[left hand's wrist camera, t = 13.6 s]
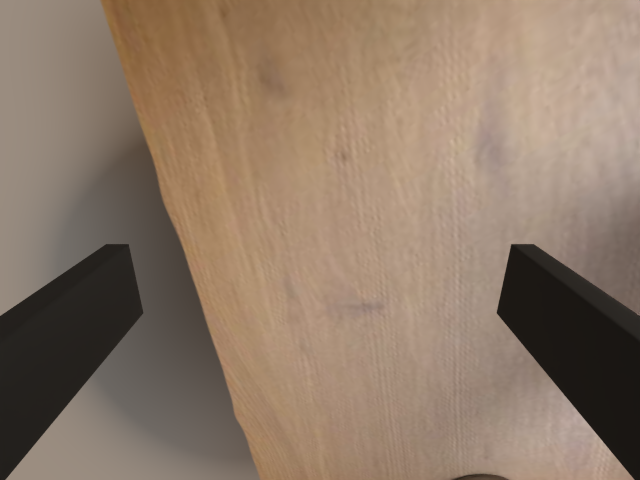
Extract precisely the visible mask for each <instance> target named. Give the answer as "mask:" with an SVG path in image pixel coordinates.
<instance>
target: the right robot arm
mask: <svg viewBox="0 0 640 480" xmlns="http://www.w3.org/2000/svg"><path fill="white" fill-rule="evenodd" d="M457 480H508V479H506V478H503V477H500V476H496V475H487V474H480V475H471V476H466V477H462V478H459V479H457Z"/></svg>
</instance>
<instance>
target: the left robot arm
mask: <svg viewBox="0 0 640 480" xmlns="http://www.w3.org/2000/svg"><path fill="white" fill-rule="evenodd" d="M142 314H143V309H142V305H141V300H140V295H139V291H138V286H137V282H136V277H135V272H134V267H133V263H132V258H131V253H130V249H129V245H128V244H106V245H104V246H103V247H102V248H100V249H99V250H97V251H96V252H94V253H93V254H91V255H90V256H88V257H87V258H85V259H84V260H82V261H81V262H79V263H78V264H76V265H75V266H73V267H72V268H71V269H69V270H68V271H66V272H65V273H63V274H62V275H60V276H59V277H57V278H56V279H54V280H53V281H51V282H50V283H48V284H47V285H45V286H44V287H42V288H41V289H40V290H38V291H37V292H35V293H34V294H32V295H31V296H29V297H28V298H26V299H25V300H23V301H22V302H20V303H19V304H17V305H16V306H14V307H13V308H11V309H10V310H8V311H7V312H6V313H4V314H3V315H1V316H0V480H5V479H6V478H7V477H8V476H9V475H10V473H11V472H12V471H13V470H14V469H15V467H16V466H17V465H18V464H19V463H20V461H21V460H22V459H23V458H24V457H25V455H26V454H27V453H28V452H29V450H30V449H31V448H32V447H33V446H34V444H35V443H36V442H37V441H38V440H39V438H40V437H41V436H42V435H43V434H44V432H45V431H46V430H47V429H48V428H49V426H50V425H51V424H52V423H53V421H54V420H55V419H56V418H57V417H58V415H59V414H60V413H61V412H62V411H63V409H64V408H65V407H66V406H67V405H68V403H69V402H70V401H71V400H72V398H73V397H74V396H75V395H76V394H77V392H78V391H79V390H80V389H81V388H82V386H83V385H84V384H85V383H86V382H87V380H88V379H89V378H90V377H91V376H92V374H93V373H94V372H95V371H96V369H97V368H98V367H99V366H100V365H101V363H102V362H103V361H104V360H105V359H106V357H107V356H108V355H109V354H110V353H111V351H112V350H113V349H114V348H115V347H116V345H117V344H118V343H119V342H120V340H121V339H122V338H123V337H124V336H125V335H126V333H127V332H128V331H129V330H130V328H131V327H132V326H133V325H134V324H135V322H136V321H137V320H138V319H139V318H140V316H141V315H142ZM497 314H498V315H499V316H500V318H501V319H502V320H503V321H504V322H505V324H506V325H507V326H508V327H509V328H510V330H511V331H512V332H513V333H514V335H515V336H516V337H517V338H518V339H519V341H520V342H521V343H522V344H523V345H524V347H525V348H526V349H527V350H528V351H529V353H530V354H531V355H532V356H533V357H534V359H535V360H536V361H537V362H538V364H539V365H540V366H541V367H542V368H543V370H544V371H545V372H546V373H547V374H548V376H549V377H550V378H551V379H552V380H553V382H554V383H555V384H556V385H557V386H558V388H559V389H560V390H561V391H562V392H563V394H564V395H565V396H566V397H567V399H568V400H569V401H570V402H571V403H572V405H573V406H574V407H575V408H576V409H577V411H578V412H579V413H580V414H581V415H582V417H583V418H584V419H585V420H586V421H587V423H588V424H589V425H590V426H591V428H592V429H593V430H594V431H595V432H596V434H597V435H598V436H599V437H600V438H601V440H602V441H603V442H604V443H605V444H606V446H607V447H608V448H609V449H610V450H611V452H612V453H613V454H614V455H615V457H616V458H617V459H618V460H619V461H620V463H621V464H622V465H623V466H624V467H625V469H626V470H627V471H628V472H629V473H630V475H631V476H632V477H633V478H634V479H635V480H640V316H639V315H637V314H636V313H634V312H633V311H632V310H630V309H629V308H627V307H626V306H624V305H623V304H621V303H620V302H618V301H617V300H615V299H614V298H612V297H611V296H609V295H608V294H606V293H605V292H603V291H602V290H601V289H599V288H598V287H596V286H595V285H593V284H592V283H590V282H589V281H587V280H586V279H584V278H583V277H581V276H580V275H578V274H577V273H575V272H574V271H572V270H571V269H569V268H568V267H567V266H565V265H564V264H562V263H561V262H559V261H558V260H556V259H555V258H553V257H552V256H550V255H549V254H547V253H546V252H544V251H543V250H541V249H540V248H538V247H537V246H536V245H534V244H511V249H510V253H509V258H508V263H507V267H506V272H505V277H504V281H503V286H502V291H501V295H500V300H499V305H498V309H497Z"/></svg>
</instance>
